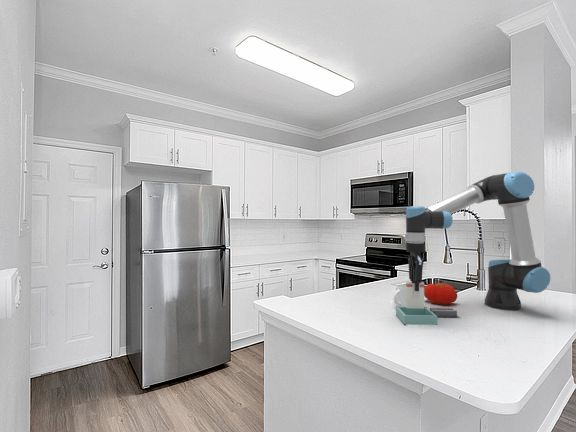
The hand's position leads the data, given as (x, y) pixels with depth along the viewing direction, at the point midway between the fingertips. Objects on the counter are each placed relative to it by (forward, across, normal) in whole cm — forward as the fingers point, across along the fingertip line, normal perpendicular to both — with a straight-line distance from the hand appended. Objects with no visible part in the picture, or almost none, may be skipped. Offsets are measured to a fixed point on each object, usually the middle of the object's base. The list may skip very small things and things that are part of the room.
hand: (415, 297), depth 137 cm
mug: (+10, -20, 0) cm, 22 cm away
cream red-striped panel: (+4, 0, 0) cm, 4 cm away
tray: (+10, 0, 0) cm, 10 cm away
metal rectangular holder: (+10, -7, +14) cm, 18 cm away
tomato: (+10, -29, +21) cm, 37 cm away
